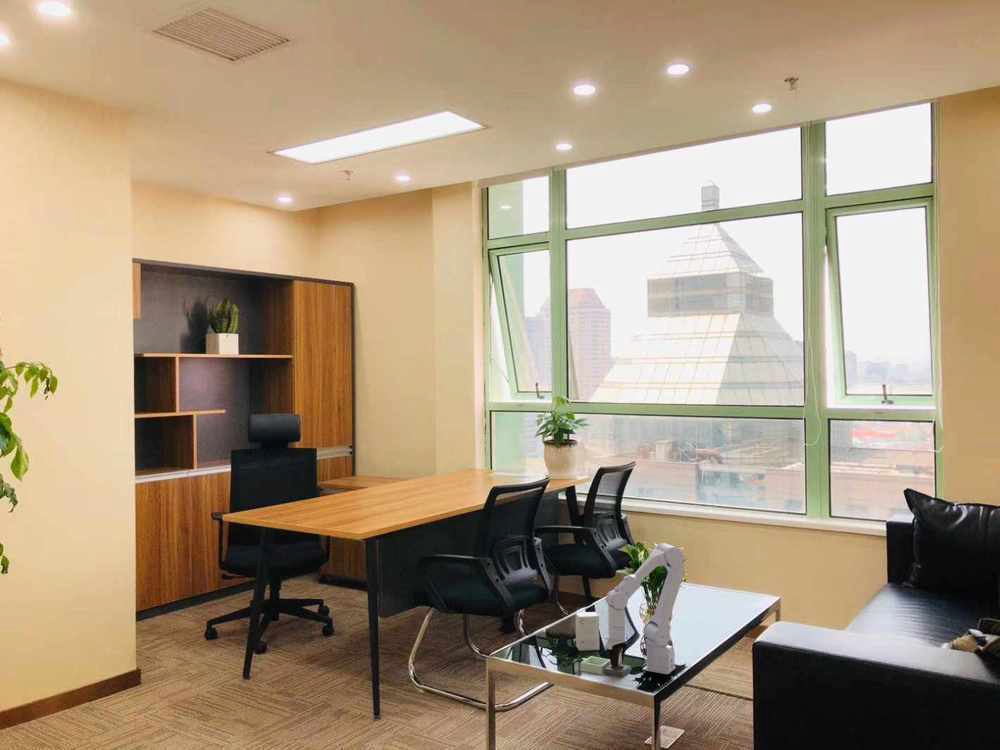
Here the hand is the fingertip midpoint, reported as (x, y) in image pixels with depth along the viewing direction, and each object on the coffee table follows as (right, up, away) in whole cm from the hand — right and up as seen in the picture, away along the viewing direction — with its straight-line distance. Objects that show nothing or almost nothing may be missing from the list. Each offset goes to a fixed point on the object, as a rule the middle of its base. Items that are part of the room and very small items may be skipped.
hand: (617, 664), depth 287 cm
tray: (-7, -3, +4) cm, 9 cm away
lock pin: (0, -3, 0) cm, 3 cm away
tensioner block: (0, -3, 0) cm, 3 cm away
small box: (-7, -4, +29) cm, 30 cm away
